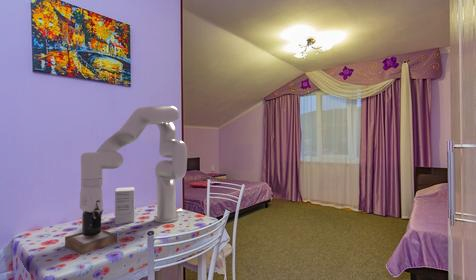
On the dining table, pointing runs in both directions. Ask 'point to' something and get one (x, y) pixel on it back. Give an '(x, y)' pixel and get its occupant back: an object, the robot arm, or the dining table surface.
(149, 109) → the robot arm
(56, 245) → the dining table surface
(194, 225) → the dining table surface
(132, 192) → the supplement box
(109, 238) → the dock
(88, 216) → the supplement bottle
